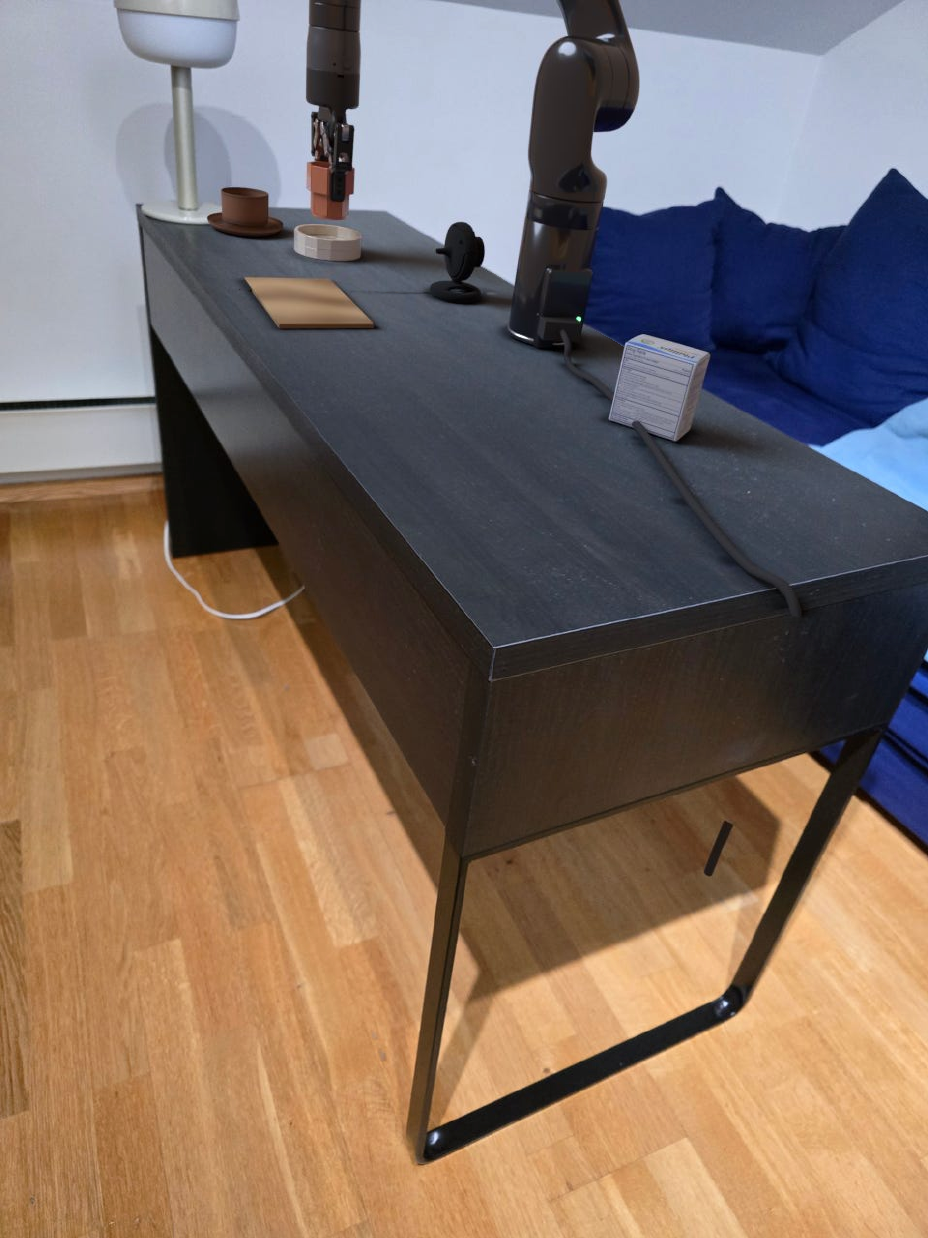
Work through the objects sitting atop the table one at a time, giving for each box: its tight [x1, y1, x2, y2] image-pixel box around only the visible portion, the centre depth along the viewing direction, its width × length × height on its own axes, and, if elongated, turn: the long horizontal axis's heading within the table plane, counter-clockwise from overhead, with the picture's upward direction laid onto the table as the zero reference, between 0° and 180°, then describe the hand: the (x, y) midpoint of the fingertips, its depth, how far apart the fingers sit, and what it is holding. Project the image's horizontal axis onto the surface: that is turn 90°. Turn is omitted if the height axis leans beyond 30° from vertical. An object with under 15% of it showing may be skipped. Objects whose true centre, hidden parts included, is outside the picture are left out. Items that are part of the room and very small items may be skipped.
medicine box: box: [608, 333, 711, 443], centre depth 92 cm, size 8×4×9 cm, turn 58°
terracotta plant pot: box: [305, 160, 356, 221], centre depth 132 cm, size 7×7×7 cm
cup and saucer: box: [206, 186, 284, 238], centre depth 141 cm, size 12×12×6 cm
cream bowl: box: [293, 223, 363, 262], centre depth 137 cm, size 10×10×4 cm
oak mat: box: [244, 276, 375, 330], centre depth 115 cm, size 20×12×1 cm, turn 23°
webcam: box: [429, 221, 486, 304], centre depth 125 cm, size 8×8×10 cm
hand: (330, 195), depth 133 cm, fingers closed on terracotta plant pot, 6 cm apart
